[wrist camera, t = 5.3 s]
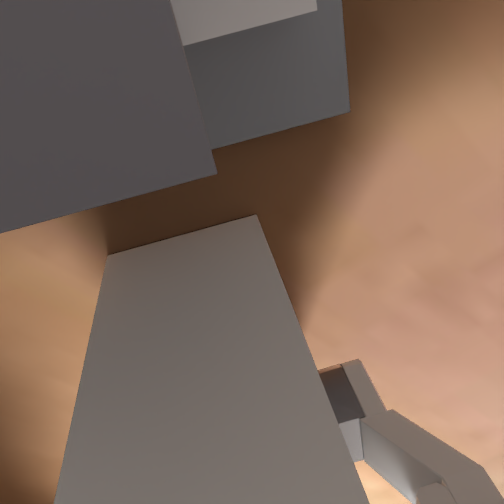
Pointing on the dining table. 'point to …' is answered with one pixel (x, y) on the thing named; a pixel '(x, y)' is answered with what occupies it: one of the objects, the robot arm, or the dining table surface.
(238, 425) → the block
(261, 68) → the rail assembly
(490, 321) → the dining table surface
